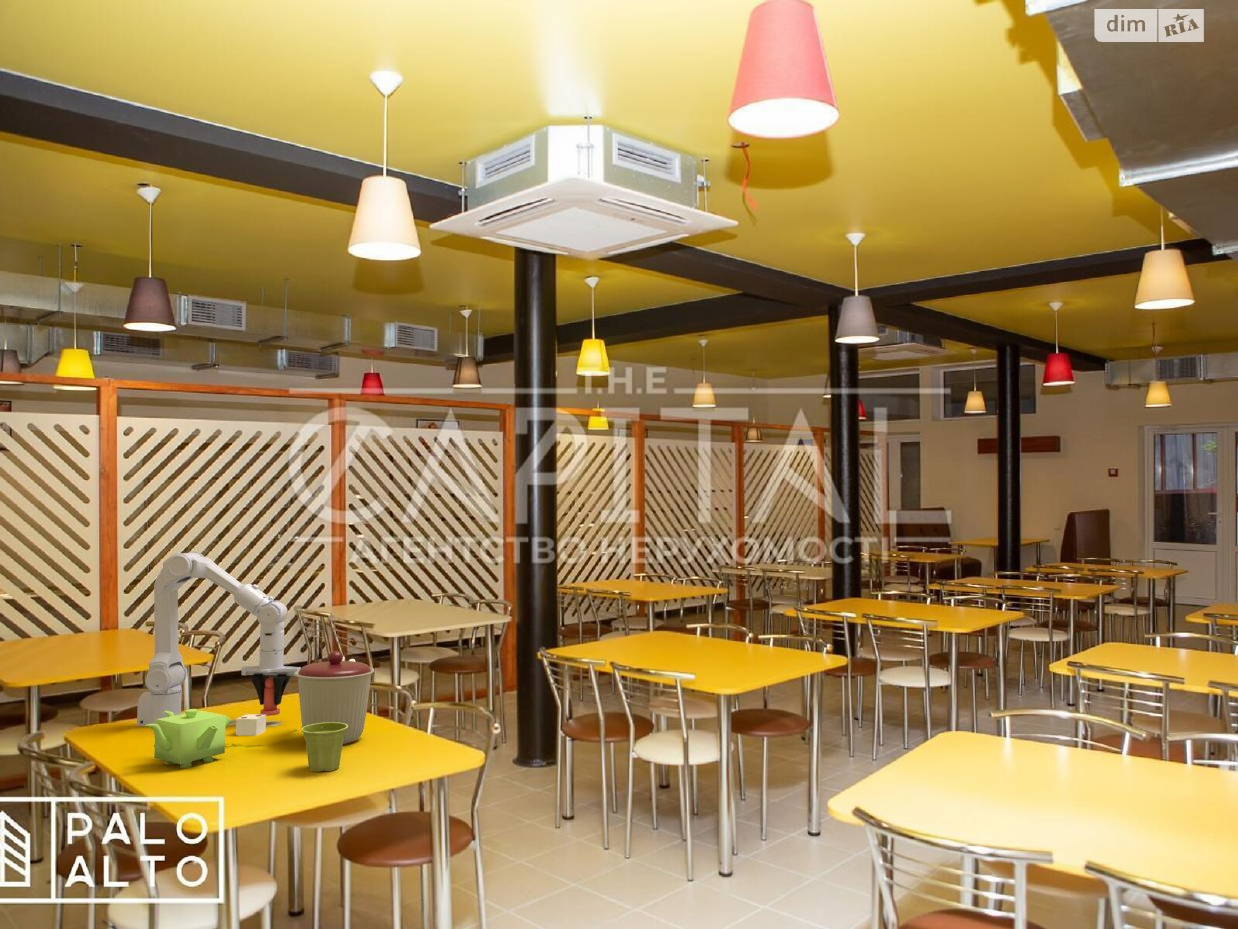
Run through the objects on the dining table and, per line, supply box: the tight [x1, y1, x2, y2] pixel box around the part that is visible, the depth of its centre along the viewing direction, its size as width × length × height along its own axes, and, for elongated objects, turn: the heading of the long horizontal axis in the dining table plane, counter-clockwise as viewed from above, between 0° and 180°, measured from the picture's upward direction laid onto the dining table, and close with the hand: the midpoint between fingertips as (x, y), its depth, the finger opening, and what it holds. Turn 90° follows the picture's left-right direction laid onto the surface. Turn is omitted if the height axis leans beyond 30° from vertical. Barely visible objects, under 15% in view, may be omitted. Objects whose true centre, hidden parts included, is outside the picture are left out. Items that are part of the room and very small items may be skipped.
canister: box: [294, 650, 375, 745], centre depth 216 cm, size 18×18×21 cm
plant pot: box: [301, 722, 348, 773], centre depth 192 cm, size 9×9×9 cm
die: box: [235, 713, 267, 737], centre depth 218 cm, size 5×5×5 cm
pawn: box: [259, 676, 281, 717], centre depth 228 cm, size 5×5×9 cm
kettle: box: [144, 708, 232, 769], centre depth 196 cm, size 15×14×11 cm
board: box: [228, 719, 285, 727], centre depth 228 cm, size 23×7×1 cm, turn 86°
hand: (270, 704), depth 228 cm, fingers closed on pawn, 3 cm apart
